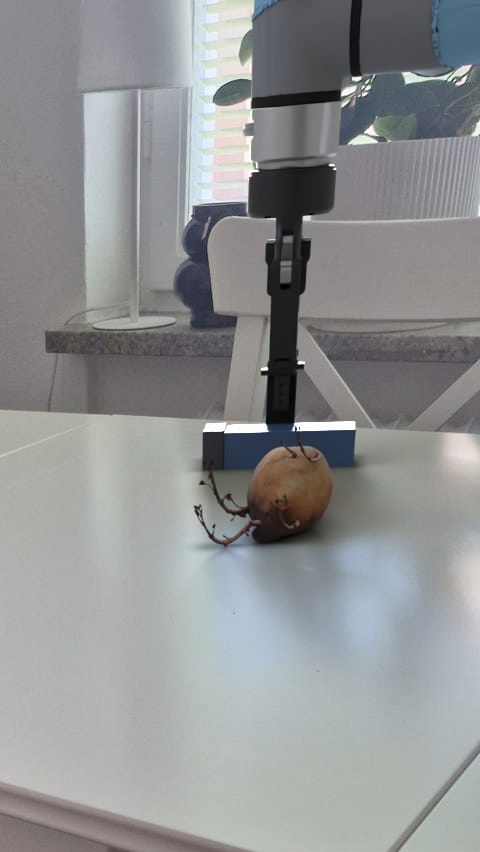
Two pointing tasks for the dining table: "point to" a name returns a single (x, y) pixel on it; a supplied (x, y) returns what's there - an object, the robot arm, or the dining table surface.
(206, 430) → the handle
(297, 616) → the dining table surface
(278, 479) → the vegetable
